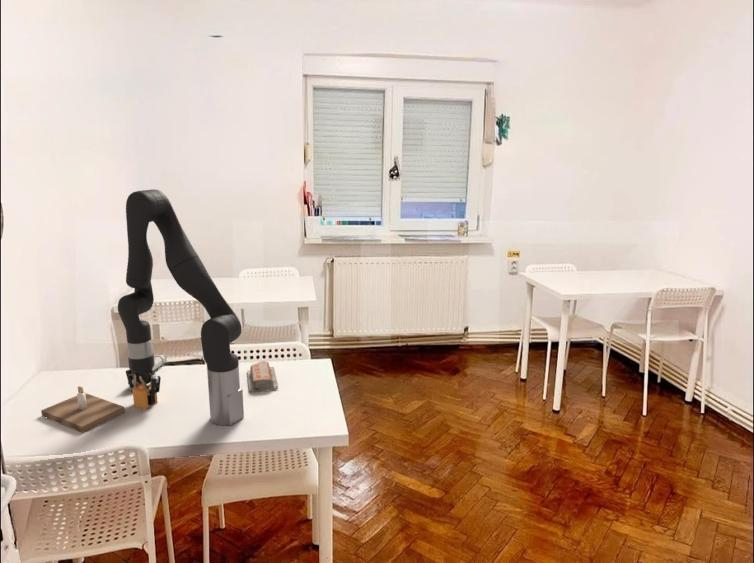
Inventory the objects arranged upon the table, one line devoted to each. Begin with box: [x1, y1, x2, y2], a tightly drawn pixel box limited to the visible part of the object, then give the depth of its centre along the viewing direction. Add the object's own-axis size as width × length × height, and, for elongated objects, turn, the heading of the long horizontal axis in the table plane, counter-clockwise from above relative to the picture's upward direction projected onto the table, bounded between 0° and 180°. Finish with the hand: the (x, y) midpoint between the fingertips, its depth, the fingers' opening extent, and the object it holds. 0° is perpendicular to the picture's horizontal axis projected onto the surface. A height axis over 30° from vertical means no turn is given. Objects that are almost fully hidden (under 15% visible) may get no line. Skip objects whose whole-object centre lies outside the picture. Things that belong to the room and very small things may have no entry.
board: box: [41, 392, 126, 433], centre depth 164 cm, size 20×14×2 cm
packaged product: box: [247, 360, 279, 393], centre depth 190 cm, size 18×5×10 cm
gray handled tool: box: [127, 353, 168, 391], centre depth 192 cm, size 5×7×25 cm
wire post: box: [76, 385, 87, 410], centre depth 163 cm, size 2×2×7 cm
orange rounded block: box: [131, 383, 158, 410], centre depth 171 cm, size 5×5×7 cm
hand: (145, 402), depth 171 cm, fingers closed on orange rounded block, 5 cm apart
